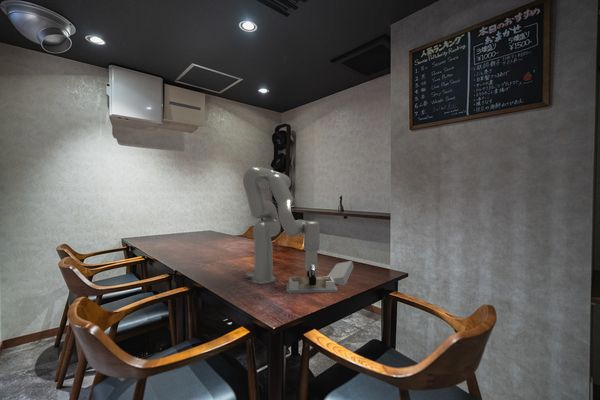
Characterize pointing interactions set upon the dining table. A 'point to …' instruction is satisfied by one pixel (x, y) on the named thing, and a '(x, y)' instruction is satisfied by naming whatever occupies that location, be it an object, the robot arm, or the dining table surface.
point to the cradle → (293, 288)
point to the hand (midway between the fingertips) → (311, 281)
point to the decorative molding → (341, 272)
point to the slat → (305, 284)
